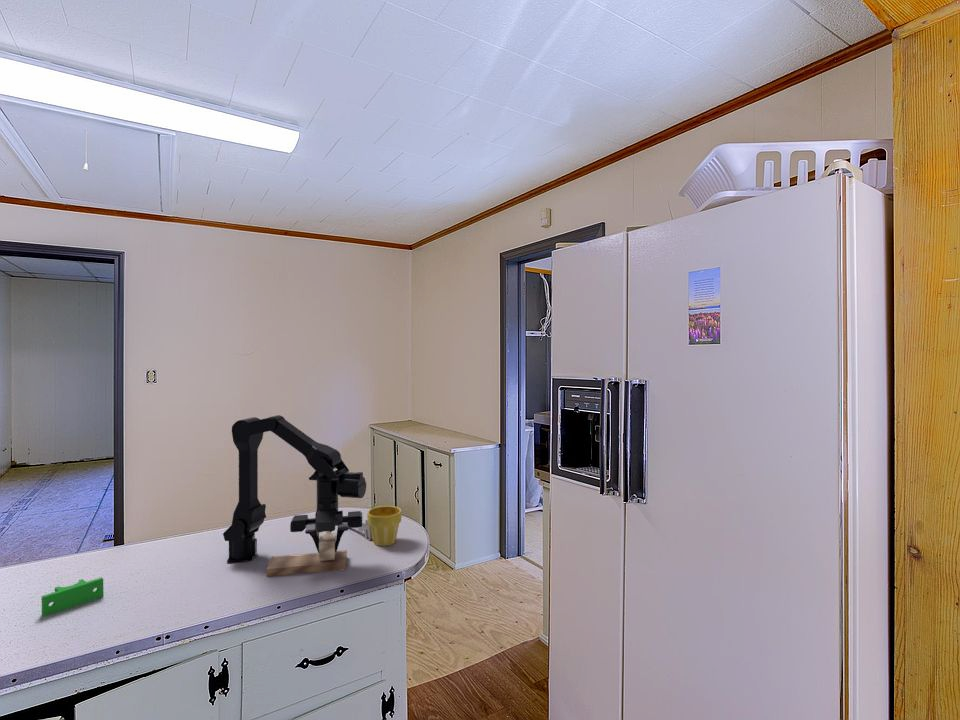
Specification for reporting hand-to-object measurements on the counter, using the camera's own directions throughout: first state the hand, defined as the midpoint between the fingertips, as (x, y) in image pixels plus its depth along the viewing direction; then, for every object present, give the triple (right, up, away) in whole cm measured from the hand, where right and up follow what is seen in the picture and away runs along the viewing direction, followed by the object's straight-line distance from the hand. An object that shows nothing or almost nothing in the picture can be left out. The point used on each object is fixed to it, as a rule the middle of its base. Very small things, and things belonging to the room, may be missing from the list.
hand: (327, 552), depth 137 cm
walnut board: (-5, -4, -1) cm, 6 cm away
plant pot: (+13, -4, +16) cm, 21 cm away
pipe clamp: (-53, -4, -22) cm, 57 cm away
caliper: (+1, -4, +25) cm, 25 cm away
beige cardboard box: (0, -1, +1) cm, 2 cm away
